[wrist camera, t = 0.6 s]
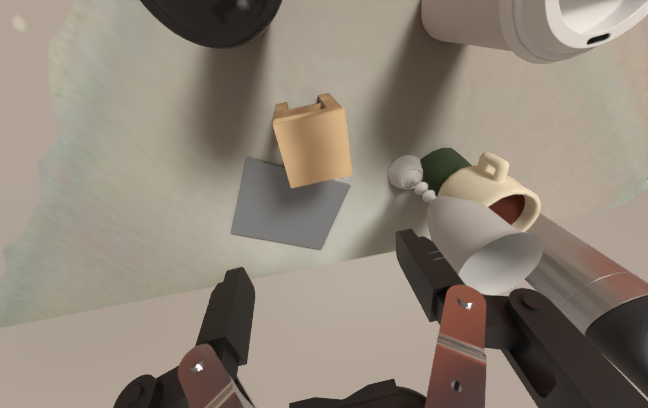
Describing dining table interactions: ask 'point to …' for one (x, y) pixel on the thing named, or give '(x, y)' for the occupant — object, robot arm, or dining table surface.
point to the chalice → (471, 235)
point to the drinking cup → (215, 19)
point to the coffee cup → (532, 24)
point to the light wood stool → (313, 141)
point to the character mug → (481, 185)
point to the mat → (285, 206)
